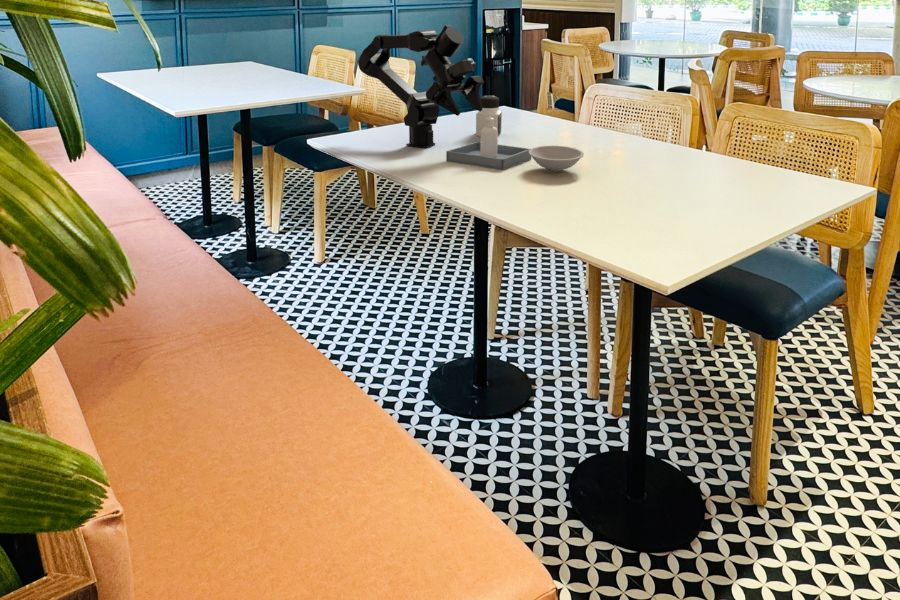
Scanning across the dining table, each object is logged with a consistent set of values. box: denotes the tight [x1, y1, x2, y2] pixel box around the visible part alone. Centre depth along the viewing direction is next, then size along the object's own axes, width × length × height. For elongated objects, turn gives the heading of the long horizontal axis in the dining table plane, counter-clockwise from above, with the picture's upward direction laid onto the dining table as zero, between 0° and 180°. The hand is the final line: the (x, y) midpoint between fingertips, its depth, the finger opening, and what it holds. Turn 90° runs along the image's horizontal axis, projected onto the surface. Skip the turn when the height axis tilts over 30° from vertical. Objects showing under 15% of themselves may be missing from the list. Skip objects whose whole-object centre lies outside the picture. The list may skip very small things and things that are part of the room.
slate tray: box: [445, 141, 533, 171], centre depth 230 cm, size 18×16×3 cm
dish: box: [529, 145, 585, 173], centre depth 218 cm, size 18×14×5 cm
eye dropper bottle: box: [479, 113, 499, 158], centre depth 228 cm, size 4×6×12 cm
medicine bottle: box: [475, 95, 503, 137], centre depth 261 cm, size 7×7×12 cm
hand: (470, 112), depth 230 cm, fingers open, 9 cm apart
